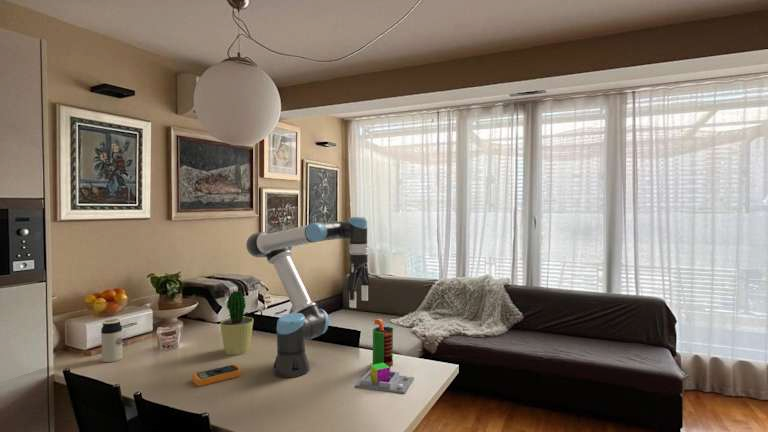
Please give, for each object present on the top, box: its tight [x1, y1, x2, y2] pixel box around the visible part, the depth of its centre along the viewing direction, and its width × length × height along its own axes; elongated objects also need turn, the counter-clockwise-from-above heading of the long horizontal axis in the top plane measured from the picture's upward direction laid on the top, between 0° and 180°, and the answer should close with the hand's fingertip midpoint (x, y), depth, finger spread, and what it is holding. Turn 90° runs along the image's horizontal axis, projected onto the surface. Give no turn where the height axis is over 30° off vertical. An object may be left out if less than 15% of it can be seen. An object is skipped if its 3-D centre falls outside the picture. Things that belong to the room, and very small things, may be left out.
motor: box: [372, 318, 394, 368], centre depth 188 cm, size 10×9×20 cm
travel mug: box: [100, 318, 123, 363], centre depth 197 cm, size 8×8×18 cm
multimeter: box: [191, 364, 242, 387], centre depth 175 cm, size 9×18×3 cm, turn 127°
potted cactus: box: [219, 290, 255, 356], centre depth 207 cm, size 15×15×30 cm
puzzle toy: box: [370, 363, 391, 384], centre depth 170 cm, size 6×6×6 cm
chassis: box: [354, 368, 415, 394], centre depth 169 cm, size 20×14×3 cm
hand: (359, 303), depth 180 cm, fingers open, 13 cm apart
